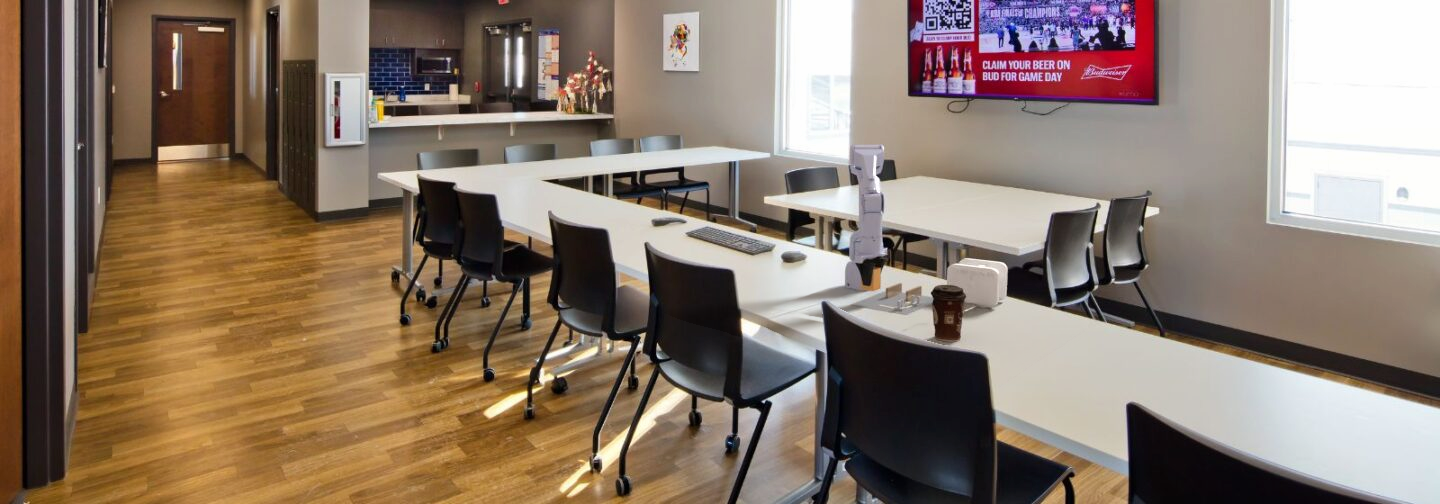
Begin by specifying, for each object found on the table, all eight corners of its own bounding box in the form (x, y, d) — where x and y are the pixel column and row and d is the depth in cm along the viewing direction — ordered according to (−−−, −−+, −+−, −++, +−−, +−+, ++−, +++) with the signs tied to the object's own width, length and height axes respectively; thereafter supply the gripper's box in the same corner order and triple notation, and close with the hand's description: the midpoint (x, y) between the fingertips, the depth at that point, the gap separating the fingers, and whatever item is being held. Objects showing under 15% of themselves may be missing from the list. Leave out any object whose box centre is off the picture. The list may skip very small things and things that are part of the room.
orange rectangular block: (860, 289, 261) (861, 268, 260) (868, 286, 264) (868, 266, 263) (873, 291, 258) (873, 270, 257) (880, 288, 261) (880, 267, 260)
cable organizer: (1009, 302, 265) (1011, 263, 263) (995, 310, 257) (997, 269, 254) (959, 295, 274) (961, 257, 272) (944, 303, 266) (945, 263, 263)
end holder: (885, 298, 268) (885, 288, 267) (899, 292, 274) (899, 283, 273) (908, 301, 263) (908, 291, 263) (921, 296, 269) (921, 286, 269)
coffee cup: (924, 340, 229) (926, 289, 227) (933, 332, 236) (935, 282, 234) (960, 344, 225) (962, 292, 223) (968, 336, 232) (970, 285, 230)
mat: (848, 308, 261) (849, 296, 260) (887, 293, 278) (887, 281, 277) (906, 318, 250) (906, 305, 249) (943, 302, 266) (943, 289, 266)
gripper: (870, 241, 250) (870, 290, 253) (897, 234, 261) (896, 281, 264) (848, 239, 255) (847, 287, 257) (875, 231, 266) (874, 277, 268)
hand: (870, 283), depth 261 cm, fingers closed on orange rectangular block, 4 cm apart
